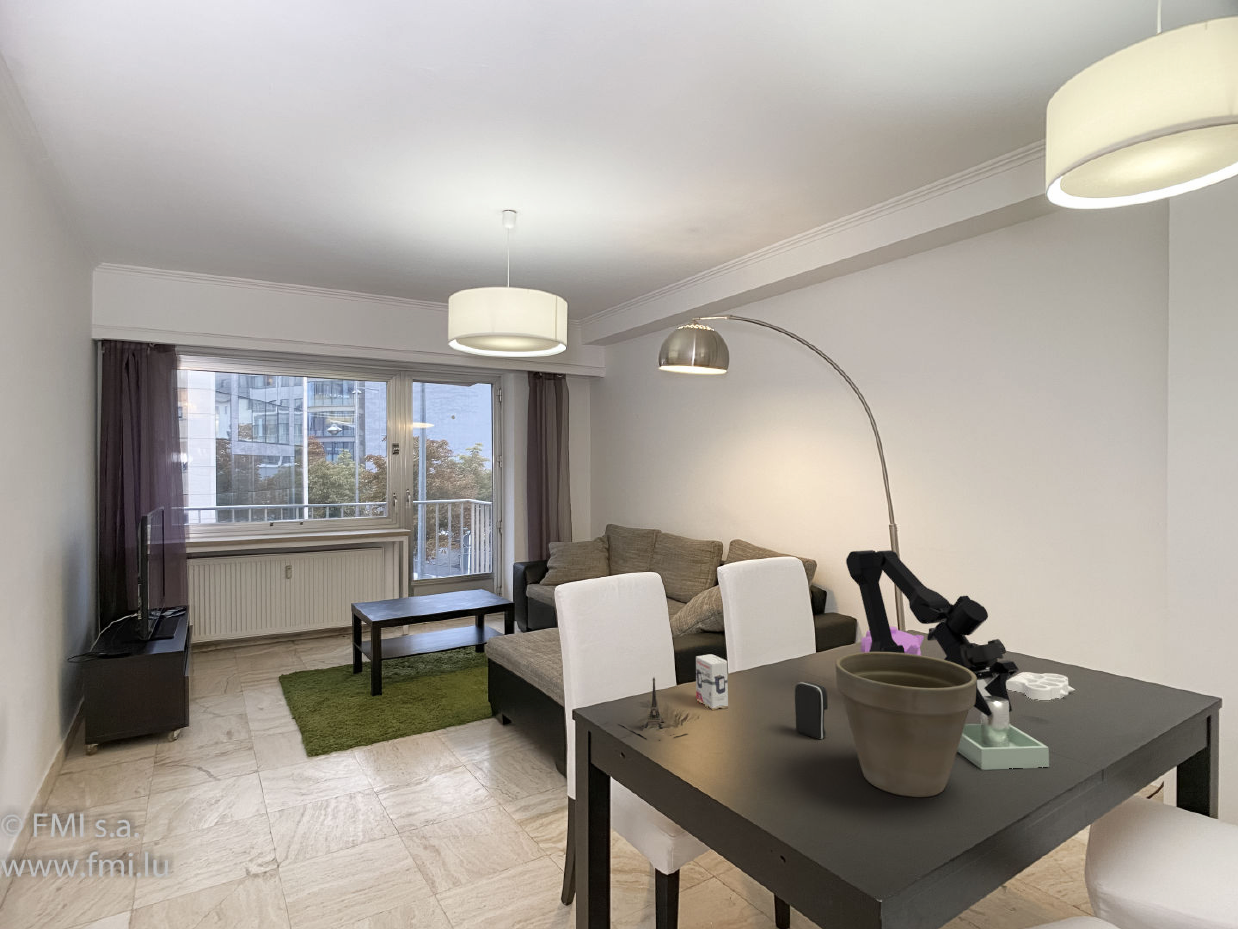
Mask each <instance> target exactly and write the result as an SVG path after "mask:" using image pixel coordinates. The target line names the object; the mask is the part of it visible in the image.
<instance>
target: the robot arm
mask: <svg viewBox="0 0 1238 929" xmlns="http://www.w3.org/2000/svg"><path fill="white" fill-rule="evenodd" d="M845 563H846V568H847V569H848V570H847V571H848V573H849V576H850V578H852V580H853V581H854V582H855V583H856V584H857V585H858V587H859V590H860V591H859V592H860V596H861V600H862V604H863V609H864V612H865V617H866V620H867V621H866V622H867V625H868V631H869V630H870V634H871V639H872V645H871V648H870V651H869V652H895V653H905V651H904V647H903V646H902V645H897V644H896V642H895V641H894V640H893V638H892V634H891V630H890V627H891V626H890V623H889V619H888V615H887V611H886V606H885V602H884V598H883V594H882V590H881V586H880V580H881V578H882V574H883V573H884V574H885V575H886V576H887V577H888V579H890V580H891V582H892V583H893V584H894V585H895V586H896V588H898V590H900V592H901V593H902V594H903V595H904V596H905V597H906V598H907V600H908V606H909V609H910V611H911V612H912V614H913V616H914V617H915V619H916V620H917V621H918V622H919V623H920V624H922V625H930V624H937V625H936V626H934V627H931V628H928V634H927V638H926V639H927V641H928V642H929V641H937V643H938V645H939V646H940V648H941V650H942V651H943V653H944V654H945V656H946V657H945V658H943V660H946V661H949V662H952V663H955V664H958V665H961V666H963V667H965V668H967V669H969V670H970V671H972V672H973V673H974V674H975V675H976V677H977V680H982V679H983V680H984V681H985V682H986V684H987V686H986V687H985V688H984V689H985V690H986V691H987V692H988V693H989V694H990V695H991V696H997V697H1001V698H1004V699H1007V700H1008V701H1009V714H1010V713H1011V712H1012V711H1013V708H1012V704H1011V702H1010V701H1011V700H1010V698H1009V692H1008V690H1007V688H1006V681H1007V680H1009V679H1010V678H1012V677H1014V675H1015V674H1016V673H1018V672H1019V670H1020V669H1019V667H1018V666H1017V665H1016V663H1015V661H1012V660H1010V659H1009V660H1008V659H1004V656H1003V655H1005V654H1006V653H1007V650H1006V647H1005V645H1004V643H1003V642H1002V641H1001V640H1000V639H999V638H997V639H992V640H988V641H987V643H984V644H981V645H979V644H977V643H975V642H973V643H971V642H970V640H969V639H968V638H967V636H971V635H972V634H974V633H975V631H977V629H979V628H980V627H981V626H982V625H983V624H984V623H985V622H986V621H987V620H988V617H989V613H988V611H987V609H986V608H985V607H984V605H982V604H980V603H979V602H977V601H976V600H973V599H972V598H971V599H970V597H969V595H960V596H959V597H958V598H957V599H956V601H955V602H954V604H952V603H951V602H949V600H948V599H947V598H946V597H944V596H943V595H942V594H941V593H939V592H937V591H935V590H933V589H932V588H929V587H927V586H926V585H924V584H923V582H921V580H919V578H918V577H917V576H916V575H915V574H914V573H913V572H912V571H911V570H910V569H909V567H908V566H906V564H905V563H904V562H903V561H902V560H901V559H900V558H899V556H898V554H897V552H896V551H893V550H890V549H889V550H888V549H887V550H877V551H876V550H873V549H871V550H870V549H869V550H868V549H867V550H853V551H850V552H849V554H848V555H847V557H846V559H845ZM994 659H998V660H999V659H1000V660H999V661H998V662H996V663H995V664H993V665H992V666H991V667H990V668H989V669H986V666H989V665H990V664H991V663H992V662H991V661H990V660H994ZM1001 659H1004V660H1001ZM980 674H981V675H980ZM973 707H974V708H975V709H977V710H978V711H980V713H981V712H982V713H984V714H985V715H987V716H990V715H991V714H992V712H991V710H990V708H989V706H988V705H987V703H986V701H985V700H984V698H983V696H982V695H981V693H980V691H979V690H978V687H977V685H976V700H975V704H974V706H973Z"/></svg>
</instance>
